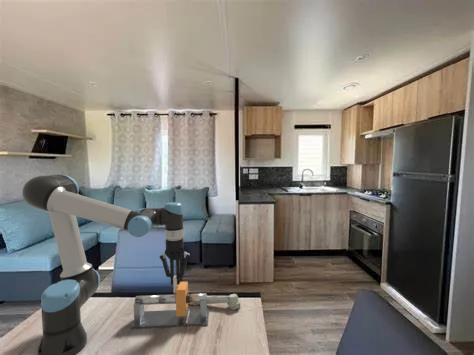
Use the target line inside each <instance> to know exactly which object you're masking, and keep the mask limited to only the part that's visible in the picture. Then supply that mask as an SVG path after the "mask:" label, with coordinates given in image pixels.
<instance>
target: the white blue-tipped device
mask: <svg viewBox="0 0 474 355" xmlns="http://www.w3.org/2000/svg"><path fill="white" fill-rule="evenodd" d="M241 303H242V301H241V299H240V298H239V296H238V294H237V293H232V294H229V295H207V305H211V304H213V305H214V304H215V305H216V304H227V306H228V309H229V310H232V311H233V310H234V311H235V310H238V309H240V308H241ZM188 306H200V303H188Z"/></svg>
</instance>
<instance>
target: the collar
mask: <svg viewBox="0 0 474 355" xmlns="http://www.w3.org/2000/svg"><path fill="white" fill-rule="evenodd" d="M188 288H189V282H188V281H180V284H179V285H178V286H177V288H176V293H175V294H176V304H175V310H176V316H186V313H187V310H188V308H189V304H188V303H186V295H187V294H189V289H188Z"/></svg>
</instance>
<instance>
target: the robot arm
mask: <svg viewBox="0 0 474 355" xmlns="http://www.w3.org/2000/svg"><path fill="white" fill-rule="evenodd" d="M79 190H80V187H79V185H78V182H77V181H76V180H75V179H74V178H73V177H71V176H69V175H66V174H52V175H39V176H34V177H33V178H30V179H29V180H28V181H26V182H25V184H24V186H23V187H22V197H23V199H24V201H25V202H26V203H27V204H28V205H29V206H32V207H34V208H36V209H40V210H41V211H42V210H43V212H45V213H47V214H48V215H49V217H50V222H51V226H52V230H53V234H54V239H55V242H56V245H57V251H58V255H59V258H60V263H61V267H62V272H61V273H60V274H59V277H60V281H57V283H53V284H51V285H49V286H47V287H46V289H44V291H42V294H41V297H40V298H41V299H40V300H41V301H40V308H41V323H42V324H41V325H42V336H41V339H40V341H39V345H38V347H37V355H77V354H78V353H79V352H81V351H82V350H83V349H84V348H85V347H86V345H87V342H88V335H87V332H86V331H85V327H84V326H83V324H82V318H81V316H82V315H81V308H82V306H84V305H85V304H86V302H87V301H88V300H89V299H90V298H91V297H93V295H94V294H95V293H96V292H97V290H98V288H99V287H100V284H101V276H100V274H99V272H98V271H97V270H95V268H93V264H92V263H89V262H88V261H87V256H86V253H85V249H84V245H83V241H82V240H83V239H82V237H81V233H80V227H79V224H78V220H77V217H78V218H82V219H85V220H88V221H93V222H95V223H99V224H104V225H106V226H110V227H114V228H116V229H121V230H124V231H127V232H128V233H129V234H130V236H132V237H134V238H142V237H144V236H145V235H147V234H149V232H150V231H151V230H152V229H153V228H154V227H159V226H164V227H165V228H164V229H165V230H164V232H165V234H164V235H165V250H164V252H163V253H161V254H160V255H159V259H160V260H161V261H162V265H163V268H164V272H165V276H166V278H170V285H171V286H173V288H172V289H173V294H176V288H177V286H178V285H179V284H180V282H181V277H183V276H185V272H186V266H187V262H188V259H189V258H190V254H191V253H190V252H187V251H186V249H185V247H184V246H185V245H184V212H183V204H182V203H181V202H178V201H177V202H176V201H175V202H167V203H165V204H164V206H163V207H156V208H155V207H153V208H150V207H149V208H146V207H143V208H137V209H136V210H135V211H134V210H131V209H128V208H127V207H126V208H125V207H122V206H118V205H115V204H113V203H112V204H111V203H109V202H105V201H102V200H99V199H95V198H93V197H87V196H86V195H85V196H84V195H81V194H79ZM182 257H183V262H182V268H181V259H182ZM167 258H168V259H169V263H168V260H167ZM175 265H176V266H175ZM175 269H176V270H175ZM175 271H176V273H175Z"/></svg>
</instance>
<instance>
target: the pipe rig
mask: <svg viewBox="0 0 474 355" xmlns="http://www.w3.org/2000/svg"><path fill="white" fill-rule="evenodd" d="M207 296H208V294H207V293H205V292H203V293H188V294H187V295H186V303H200V305H199V306H200V308H194V309H193V308H192V309H187V313H186V316H176V309H168V310H167V309H165V310H148V311H147V310H145V306H149V305H152V306H153V305H169V304H170V305H171V304H172V305H174V304H175V305H176V293H174V294H156V295H155V294H153V295H136V296H135V299H134V303H133V321H132V323H131V325H130V328H129V329H131V330H132V329H133V330H134V329H154V328H155V329H156V328H176V327H180V328H181V327H198V326H199V327H200V326H209V315H210V308H208V304H207Z"/></svg>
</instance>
